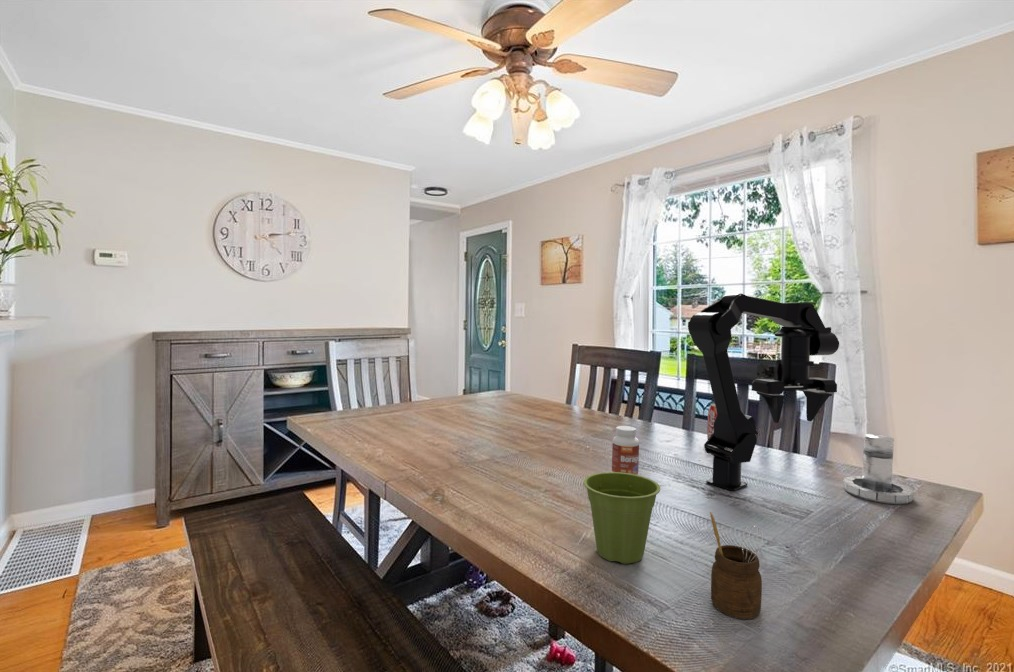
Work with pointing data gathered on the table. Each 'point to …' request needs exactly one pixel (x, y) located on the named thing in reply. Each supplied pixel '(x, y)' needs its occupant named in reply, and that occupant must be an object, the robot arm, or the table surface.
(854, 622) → the table surface
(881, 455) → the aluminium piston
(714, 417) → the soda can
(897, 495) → the grey white ring
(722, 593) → the utensil holder
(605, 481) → the plant pot
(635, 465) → the pill bottle
